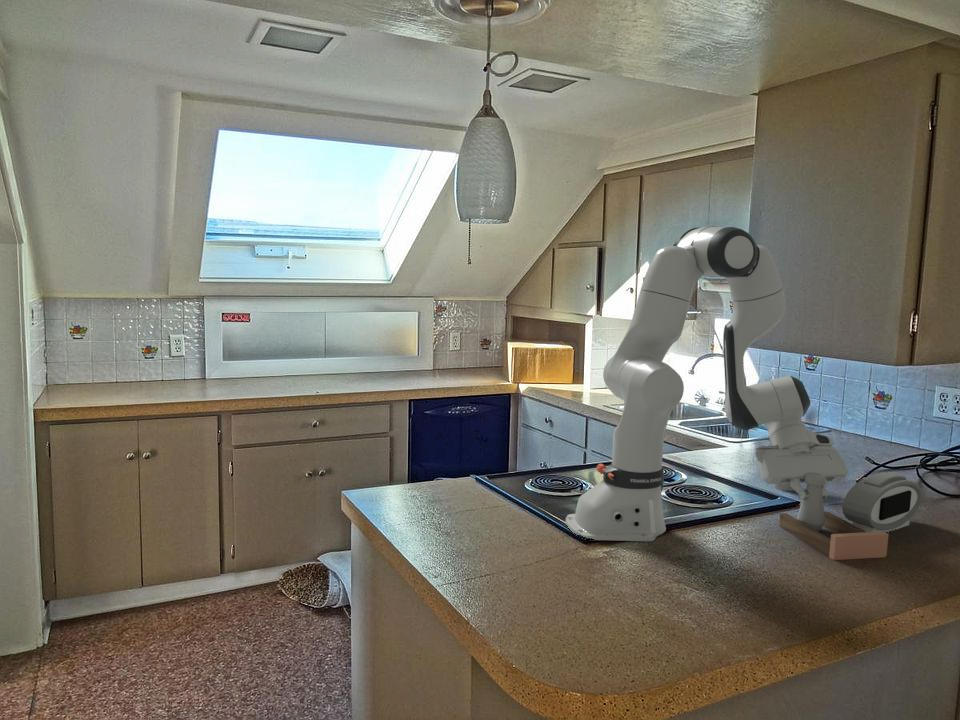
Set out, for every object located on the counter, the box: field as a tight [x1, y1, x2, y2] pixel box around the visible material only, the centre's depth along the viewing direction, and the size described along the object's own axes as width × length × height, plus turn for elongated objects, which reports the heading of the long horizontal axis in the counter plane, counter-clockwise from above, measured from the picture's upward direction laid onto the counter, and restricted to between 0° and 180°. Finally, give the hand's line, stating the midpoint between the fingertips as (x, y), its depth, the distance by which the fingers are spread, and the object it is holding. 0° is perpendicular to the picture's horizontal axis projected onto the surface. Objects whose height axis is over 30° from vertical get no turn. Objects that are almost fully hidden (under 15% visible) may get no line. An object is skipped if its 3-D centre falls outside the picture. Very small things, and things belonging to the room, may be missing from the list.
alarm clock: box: [841, 472, 923, 533], centre depth 170 cm, size 23×6×13 cm, turn 123°
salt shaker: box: [796, 473, 825, 532], centre depth 168 cm, size 6×6×13 cm
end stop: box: [828, 531, 889, 561], centre depth 153 cm, size 12×2×5 cm, turn 100°
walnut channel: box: [778, 510, 866, 558], centre depth 163 cm, size 12×18×3 cm
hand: (814, 498), depth 167 cm, fingers closed on salt shaker, 3 cm apart
